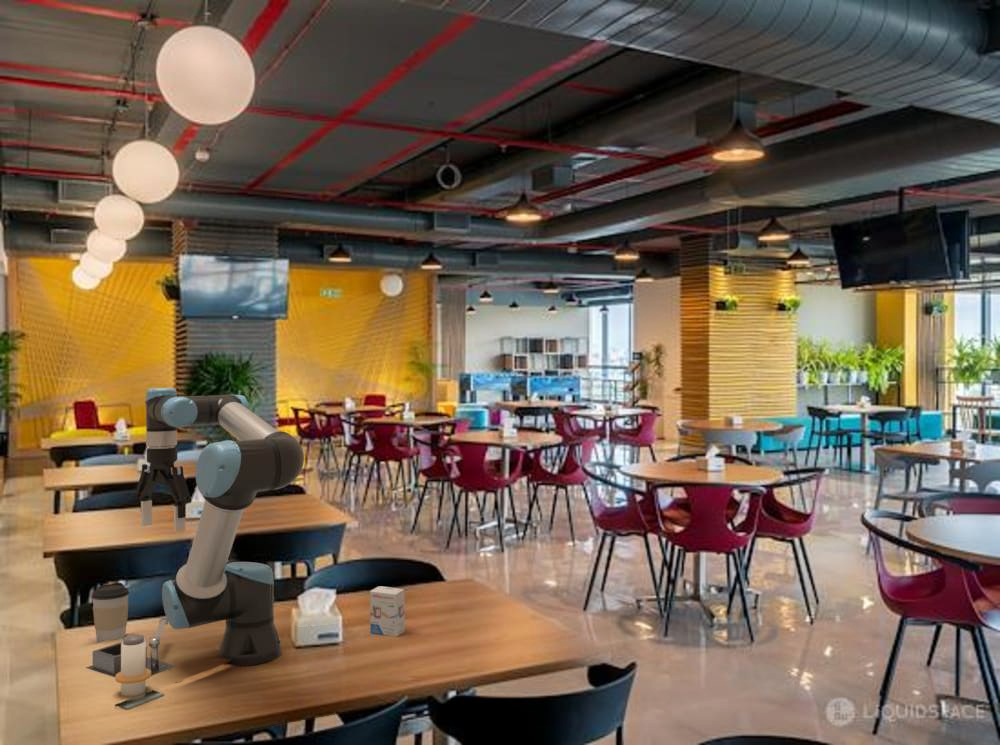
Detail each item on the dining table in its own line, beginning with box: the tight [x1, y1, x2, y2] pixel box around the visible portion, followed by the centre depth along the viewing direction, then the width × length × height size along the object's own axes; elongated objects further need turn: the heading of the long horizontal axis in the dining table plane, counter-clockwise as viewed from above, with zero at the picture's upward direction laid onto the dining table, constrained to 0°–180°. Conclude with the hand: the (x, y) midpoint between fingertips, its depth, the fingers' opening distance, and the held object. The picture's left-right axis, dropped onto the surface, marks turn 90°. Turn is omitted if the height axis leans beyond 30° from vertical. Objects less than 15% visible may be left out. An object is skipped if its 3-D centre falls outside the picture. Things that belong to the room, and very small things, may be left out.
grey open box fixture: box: [85, 641, 178, 678], centre depth 200 cm, size 18×12×7 cm, turn 58°
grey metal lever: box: [148, 617, 169, 647], centre depth 207 cm, size 18×2×2 cm, turn 14°
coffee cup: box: [91, 581, 130, 644], centre depth 223 cm, size 9×9×15 cm
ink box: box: [369, 585, 406, 637], centre depth 229 cm, size 9×5×12 cm, turn 68°
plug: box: [114, 634, 152, 701], centre depth 185 cm, size 7×7×13 cm
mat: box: [114, 689, 165, 710], centre depth 185 cm, size 9×9×1 cm
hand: (162, 527), depth 220 cm, fingers open, 13 cm apart
